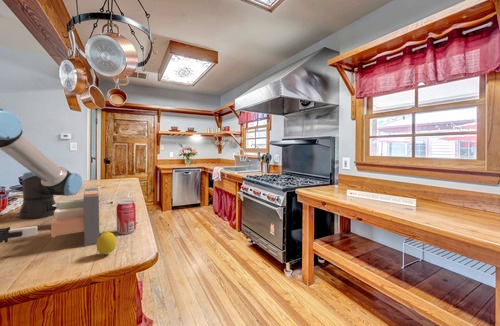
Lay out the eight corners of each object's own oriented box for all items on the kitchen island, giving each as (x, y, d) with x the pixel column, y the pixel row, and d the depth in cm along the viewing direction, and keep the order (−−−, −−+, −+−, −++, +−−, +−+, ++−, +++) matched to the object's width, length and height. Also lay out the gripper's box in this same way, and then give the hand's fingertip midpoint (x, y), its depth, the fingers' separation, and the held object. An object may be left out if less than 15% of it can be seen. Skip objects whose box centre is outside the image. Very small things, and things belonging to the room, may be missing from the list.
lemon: (102, 251, 78) (102, 228, 77) (119, 251, 78) (119, 228, 78) (92, 259, 72) (92, 234, 72) (111, 258, 73) (110, 234, 72)
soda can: (139, 230, 99) (139, 200, 98) (125, 236, 92) (125, 204, 91) (127, 228, 101) (126, 199, 100) (112, 233, 94) (112, 203, 93)
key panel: (86, 229, 98) (85, 187, 97) (98, 227, 101) (97, 186, 100) (84, 246, 82) (83, 194, 81) (99, 243, 84) (98, 193, 83)
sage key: (58, 212, 92) (57, 200, 92) (96, 208, 99) (95, 197, 99) (56, 215, 88) (56, 202, 88) (96, 211, 95) (96, 199, 95)
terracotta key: (53, 233, 81) (53, 219, 80) (96, 226, 88) (96, 214, 88) (51, 237, 77) (51, 222, 76) (96, 230, 84) (96, 217, 84)
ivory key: (55, 222, 86) (55, 209, 86) (96, 217, 93) (96, 205, 93) (54, 225, 82) (53, 212, 82) (96, 220, 90) (96, 207, 89)
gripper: (-64, 250, 68) (41, 235, 82) (-94, 269, 58) (33, 248, 71) (-66, 226, 68) (40, 214, 81) (-96, 241, 57) (32, 225, 71)
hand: (36, 230), depth 76 cm, fingers closed
